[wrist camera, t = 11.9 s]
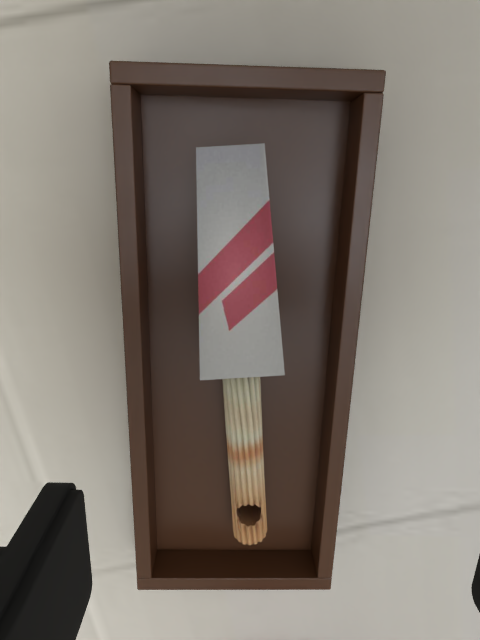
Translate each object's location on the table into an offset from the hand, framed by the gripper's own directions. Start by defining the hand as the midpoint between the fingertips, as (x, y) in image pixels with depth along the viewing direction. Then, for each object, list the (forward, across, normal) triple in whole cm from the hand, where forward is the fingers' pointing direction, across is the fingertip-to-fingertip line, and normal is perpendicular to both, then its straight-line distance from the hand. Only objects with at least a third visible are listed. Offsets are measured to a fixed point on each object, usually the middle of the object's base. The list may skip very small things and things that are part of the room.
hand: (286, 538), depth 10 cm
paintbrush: (+13, +1, +1) cm, 13 cm away
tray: (+14, +1, +1) cm, 14 cm away
